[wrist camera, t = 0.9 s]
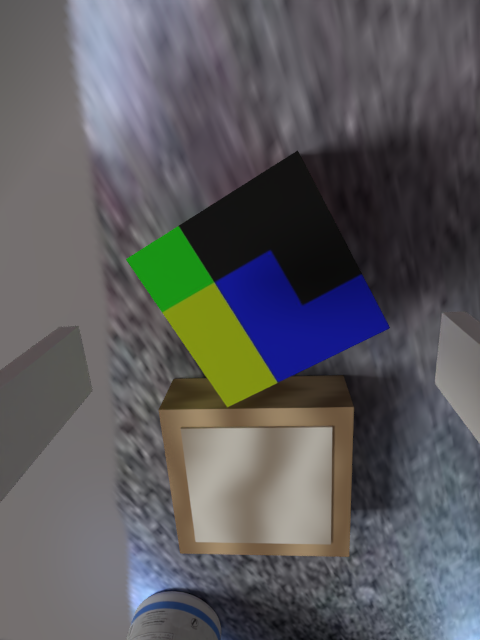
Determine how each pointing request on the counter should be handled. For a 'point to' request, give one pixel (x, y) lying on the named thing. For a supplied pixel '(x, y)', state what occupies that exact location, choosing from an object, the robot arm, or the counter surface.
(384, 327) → the puzzle toy
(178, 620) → the supplement tub
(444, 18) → the counter surface
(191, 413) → the oak picture frame
